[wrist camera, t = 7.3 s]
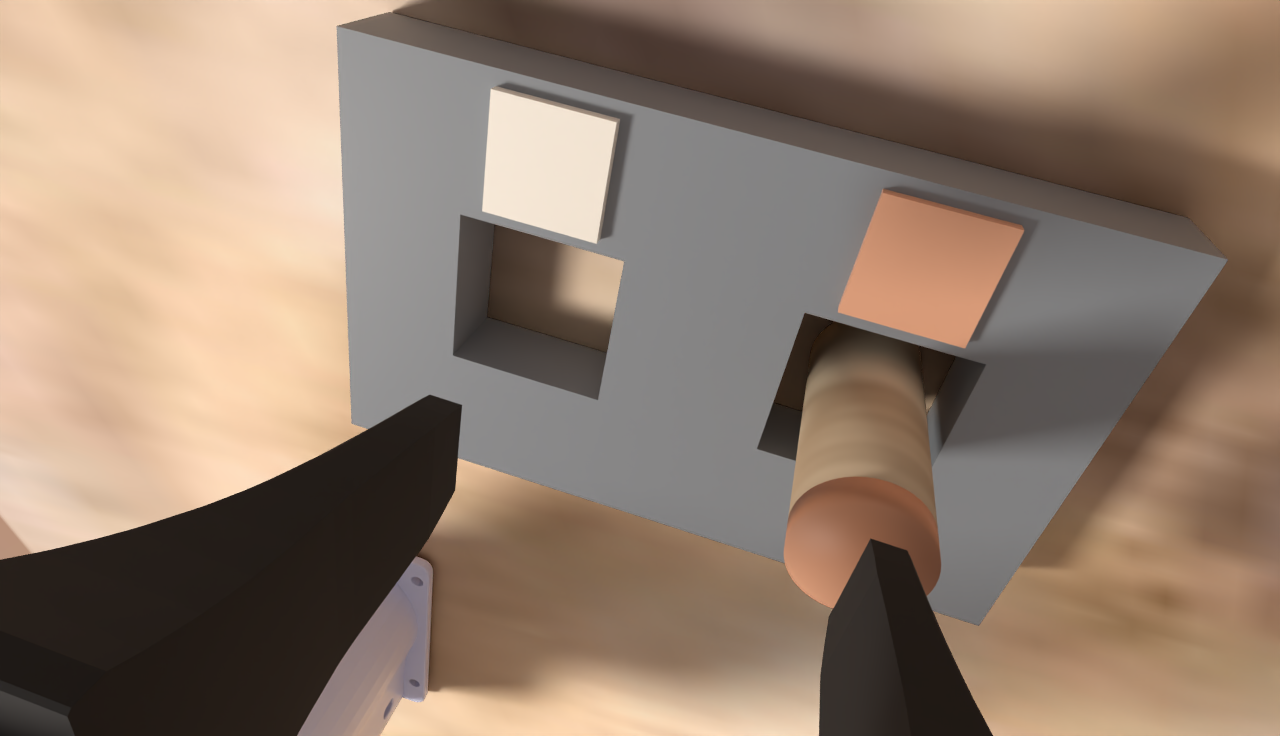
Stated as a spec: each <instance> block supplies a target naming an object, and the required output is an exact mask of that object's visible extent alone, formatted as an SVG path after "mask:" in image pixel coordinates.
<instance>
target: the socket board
mask: <svg viewBox="0 0 1280 736" xmlns="http://www.w3.org/2000/svg"><path fill="white" fill-rule="evenodd" d="M337 47H338V74H339V100H340V127H341V153H342V180H343V207H344V233H345V260H346V286H347V313H348V339H349V366H350V392H351V419H352V424H354V425H357V426H360V427H364V428H367V429H369V428H371V427H373V426H375V425H376V424H378V423H380V422H382V421H383V420H385V419H387V418H389V417H390V416H392V415H394V414H396V413H397V412H399V411H401V410H403V409H404V408H406V407H408V406H409V405H411V404H413V403H415V402H417V401H418V400H420V399H422V398H424V397H426V396H428V395H433V396H436V397H439V398H442V399H445V400H448V401H451V402H455V403H458V404H461V405H462V413H461V425H460V437H459V449H458V458H460V459H463V460H466V461H469V462H472V463H475V464H478V465H481V466H485V467H488V468H491V469H494V470H497V471H500V472H503V473H506V474H509V475H512V476H516V477H519V478H522V479H525V480H528V481H531V482H534V483H537V484H540V485H543V486H547V487H550V488H553V489H556V490H559V491H562V492H565V493H568V494H571V495H574V496H578V497H581V498H584V499H587V500H590V501H593V502H596V503H599V504H602V505H605V506H609V507H612V508H615V509H618V510H621V511H624V512H627V513H630V514H633V515H637V516H640V517H643V518H646V519H649V520H652V521H655V522H658V523H661V524H664V525H668V526H671V527H674V528H677V529H680V530H683V531H686V532H689V533H692V534H695V535H699V536H702V537H705V538H708V539H711V540H714V541H717V542H720V543H723V544H726V545H730V546H733V547H736V548H739V549H742V550H745V551H748V552H751V553H754V554H757V555H761V556H764V557H767V558H770V559H773V560H776V561H779V562H782V563H785V561H784V545H785V537H786V530H787V523H788V515H789V508H790V501H791V493H792V486H793V478H794V471H795V464H796V456H797V449H798V442H799V434H800V427H801V419H802V411H798V410H795V409H792V408H788V407H785V406H782V405H778V404H775V403H773V402H774V399H775V396H776V393H777V390H778V387H779V384H780V382H781V379H782V376H783V373H784V370H785V367H786V365H787V362H788V359H789V356H790V353H791V350H792V347H793V345H794V342H795V339H796V336H797V333H798V330H799V328H800V325H801V322H802V319H803V316H804V313H807V314H811V315H814V316H818V317H821V318H825V319H828V320H832V321H835V322H839V323H842V324H846V325H849V326H853V327H856V328H860V329H863V330H867V331H870V332H874V333H877V334H881V335H884V336H888V337H891V338H895V339H898V340H902V341H905V342H909V343H912V344H916V345H919V346H923V347H926V348H930V349H933V350H937V351H940V352H944V353H947V354H951V355H954V356H956V358H955V360H954V362H953V364H952V366H951V368H950V370H949V372H948V374H947V376H946V378H945V380H944V382H943V384H942V386H941V388H940V390H939V392H938V394H937V396H936V398H935V400H934V402H933V404H932V406H931V408H930V410H929V412H928V414H927V424H928V434H929V444H930V454H931V465H932V475H933V485H934V495H935V505H936V515H937V525H938V535H939V546H940V556H941V573H940V577H939V580H938V582H937V584H936V586H935V587H934V589H933V590H932V591H931V592H930V593H929V594H928V595H927V598H928V601H929V603H930V606H931V608H932V610H933V611H934V612H937V613H940V614H944V615H947V616H950V617H953V618H956V619H959V620H962V621H965V622H968V623H971V624H975V625H978V626H979V625H980V623H981V622H982V620H983V619H984V617H985V616H986V614H987V613H988V612H989V610H990V609H991V607H992V606H993V604H994V603H995V601H996V600H997V598H998V597H999V595H1000V594H1001V592H1002V591H1003V590H1004V588H1005V587H1006V585H1007V584H1008V582H1009V581H1010V579H1011V578H1012V576H1013V575H1014V573H1015V572H1016V570H1017V569H1018V568H1019V566H1020V565H1021V563H1022V562H1023V560H1024V559H1025V557H1026V556H1027V554H1028V553H1029V551H1030V550H1031V548H1032V547H1033V546H1034V544H1035V543H1036V541H1037V540H1038V538H1039V537H1040V535H1041V534H1042V532H1043V531H1044V529H1045V528H1046V526H1047V525H1048V524H1049V522H1050V521H1051V519H1052V518H1053V516H1054V515H1055V513H1056V512H1057V510H1058V509H1059V507H1060V506H1061V504H1062V503H1063V501H1064V500H1065V499H1066V497H1067V496H1068V494H1069V493H1070V491H1071V490H1072V488H1073V487H1074V485H1075V484H1076V482H1077V481H1078V479H1079V478H1080V477H1081V475H1082V474H1083V472H1084V471H1085V469H1086V468H1087V466H1088V465H1089V463H1090V462H1091V460H1092V459H1093V457H1094V456H1095V455H1096V453H1097V452H1098V450H1099V449H1100V447H1101V446H1102V444H1103V443H1104V441H1105V440H1106V438H1107V437H1108V435H1109V434H1110V433H1111V431H1112V430H1113V428H1114V427H1115V425H1116V424H1117V422H1118V421H1119V419H1120V418H1121V416H1122V415H1123V413H1124V412H1125V411H1126V409H1127V408H1128V406H1129V405H1130V403H1131V402H1132V400H1133V399H1134V397H1135V396H1136V394H1137V393H1138V391H1139V390H1140V389H1141V387H1142V386H1143V384H1144V383H1145V381H1146V380H1147V378H1148V377H1149V375H1150V374H1151V372H1152V371H1153V369H1154V368H1155V366H1156V365H1157V364H1158V362H1159V361H1160V359H1161V358H1162V356H1163V355H1164V353H1165V352H1166V350H1167V349H1168V347H1169V346H1170V344H1171V343H1172V342H1173V340H1174V339H1175V337H1176V336H1177V334H1178V333H1179V331H1180V330H1181V328H1182V327H1183V325H1184V324H1185V322H1186V321H1187V320H1188V318H1189V317H1190V315H1191V314H1192V312H1193V311H1194V309H1195V308H1196V306H1197V305H1198V303H1199V302H1200V300H1201V299H1202V298H1203V296H1204V295H1205V293H1206V292H1207V290H1208V289H1209V287H1210V286H1211V284H1212V283H1213V281H1214V280H1215V278H1216V277H1217V276H1218V274H1219V273H1220V271H1221V270H1222V268H1223V267H1224V265H1225V264H1226V262H1227V261H1228V259H1227V258H1226V257H1225V256H1224V255H1223V254H1222V253H1221V251H1220V250H1219V249H1218V248H1217V247H1216V246H1215V245H1214V244H1213V243H1212V242H1211V241H1210V240H1209V239H1208V238H1207V237H1206V236H1205V235H1204V233H1203V232H1202V231H1201V230H1200V229H1199V228H1198V227H1197V226H1196V225H1195V224H1194V223H1193V222H1192V221H1191V220H1190V219H1189V218H1187V217H1183V216H1179V215H1175V214H1171V213H1167V212H1164V211H1160V210H1156V209H1152V208H1148V207H1144V206H1140V205H1136V204H1133V203H1129V202H1125V201H1121V200H1117V199H1113V198H1109V197H1105V196H1102V195H1098V194H1094V193H1090V192H1086V191H1082V190H1078V189H1074V188H1071V187H1067V186H1063V185H1059V184H1055V183H1051V182H1047V181H1043V180H1039V179H1036V178H1032V177H1028V176H1024V175H1020V174H1016V173H1012V172H1008V171H1005V170H1001V169H997V168H993V167H989V166H985V165H981V164H977V163H974V162H970V161H966V160H962V159H958V158H954V157H950V156H946V155H942V154H939V153H935V152H931V151H927V150H923V149H919V148H915V147H911V146H908V145H904V144H900V143H896V142H892V141H888V140H884V139H880V138H877V137H873V136H869V135H865V134H861V133H857V132H853V131H849V130H846V129H842V128H838V127H834V126H830V125H826V124H822V123H818V122H814V121H811V120H807V119H803V118H799V117H795V116H791V115H787V114H783V113H780V112H776V111H772V110H768V109H764V108H760V107H756V106H752V105H749V104H745V103H741V102H737V101H733V100H729V99H725V98H721V97H717V96H714V95H710V94H706V93H702V92H698V91H694V90H690V89H686V88H683V87H679V86H675V85H671V84H667V83H663V82H659V81H655V80H652V79H648V78H644V77H640V76H636V75H632V74H628V73H624V72H621V71H617V70H613V69H609V68H605V67H601V66H597V65H593V64H589V63H586V62H582V61H578V60H574V59H570V58H566V57H562V56H558V55H555V54H551V53H547V52H543V51H539V50H535V49H531V48H527V47H524V46H520V45H516V44H512V43H508V42H504V41H500V40H496V39H492V38H489V37H485V36H481V35H477V34H473V33H469V32H465V31H461V30H458V29H454V28H450V27H446V26H442V25H438V24H434V23H430V22H427V21H423V20H419V19H415V18H411V17H407V16H403V15H399V14H396V13H392V12H388V13H384V14H380V15H377V16H373V17H369V18H365V19H362V20H358V21H354V22H350V23H347V24H343V25H339V26H337ZM495 224H496V225H499V226H503V227H506V228H510V229H513V230H517V231H520V232H524V233H527V234H531V235H534V236H538V237H541V238H545V239H548V240H552V241H555V242H559V243H562V244H566V245H569V246H573V247H576V248H580V249H583V250H587V251H590V252H594V253H597V254H601V255H604V256H608V257H611V258H615V259H618V260H622V261H624V266H623V271H622V276H621V282H620V287H619V292H618V297H617V303H616V308H615V313H614V319H613V324H612V329H611V334H610V340H609V345H608V350H607V353H605V352H602V351H598V350H595V349H592V348H588V347H585V346H582V345H578V344H575V343H572V342H568V341H565V340H562V339H558V338H555V337H552V336H548V335H545V334H542V333H538V332H535V331H532V330H528V329H525V328H522V327H518V326H515V325H512V324H508V323H505V322H502V321H498V320H495V319H492V318H488V317H487V312H488V300H489V288H490V276H491V263H492V251H493V239H494V227H495Z"/></svg>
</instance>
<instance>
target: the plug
mask: <svg viewBox="0 0 1280 736" xmlns="http://www.w3.org/2000/svg"><path fill="white" fill-rule="evenodd" d="M870 538H871V539H874V540H877V541H880V542H883V543H886V544H889V545H892V546H895V547H898V548H902V549H905V550H907V551H908V553H909V555H910V557H911V559H912V561H913V564H914V566H915V569H916V571H917V574H918V576H919V579H920V581H921V584H922V586H923V589H924V591H925V594H926V596H927V595H928V594H929V593H930V592H931V591H932V590H933V589H934V587H935V586H936V584H937V582H938V580H939V577H940V573H941V556H940V546H939V535H938V525H937V515H936V505H935V495H934V485H933V475H932V465H931V454H930V444H929V434H928V424H927V414H926V404H925V394H924V384H923V374H922V363H921V354H920V350H919V347H918V345H916V344H912V343H909V342H905V341H902V340H898V339H895V338H891V337H888V336H884V335H881V334H877V333H874V332H870V331H867V330H863V329H860V328H856V327H853V326H849V325H846V324H842V323H839V322H834V323H832V324H831V325H829V326H828V327H827V328H825V329H824V330H823V331H822V332H821V333H820V335H819V336H818V337H817V339H816V340H815V342H814V344H813V346H812V349H811V353H810V360H809V368H808V375H807V382H806V390H805V397H804V405H803V412H802V419H801V427H800V434H799V442H798V449H797V456H796V464H795V471H794V478H793V486H792V493H791V501H790V508H789V515H788V523H787V530H786V537H785V545H784V561H785V565H786V568H787V571H788V573H789V575H790V576H791V578H792V580H793V581H794V582H795V584H796V585H797V586H798V587H799V588H800V589H801V590H802V591H803V592H804V593H806V594H807V595H808V596H809V597H811V598H812V599H814V600H816V601H817V602H819V603H821V604H823V605H825V606H827V607H830V608H834V606H835V605H836V603H837V601H838V599H839V597H840V595H841V593H842V591H843V589H844V588H845V586H846V584H847V582H848V580H849V578H850V576H851V574H852V572H853V571H854V569H855V567H856V565H857V563H858V561H859V559H860V557H861V555H862V554H863V552H864V550H865V548H866V546H867V544H868V542H869V540H870Z"/></svg>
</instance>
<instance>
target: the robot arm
mask: <svg viewBox="0 0 1280 736" xmlns="http://www.w3.org/2000/svg"><path fill="white" fill-rule="evenodd" d="M461 413H462V405H461V404H458V403H455V402H451V401H448V400H445V399H442V398H439V397H436V396H433V395H428V396H426V397H424V398H422V399H420V400H418V401H417V402H415V403H413V404H411V405H409V406H408V407H406V408H404V409H403V410H401V411H399V412H397V413H396V414H394V415H392V416H390V417H389V418H387V419H385V420H383V421H382V422H380V423H378V424H376V425H375V426H373V427H371V428H369V429H368V430H366V431H364V432H362V433H361V434H359V435H357V436H355V437H353V438H351V439H349V440H348V441H346V442H344V443H342V444H340V445H338V446H336V447H335V448H333V449H331V450H329V451H327V452H325V453H323V454H321V455H320V456H318V457H316V458H314V459H312V460H309V461H307V462H305V463H303V464H301V465H299V466H297V467H295V468H293V469H291V470H289V471H287V472H285V473H283V474H281V475H279V476H276V477H274V478H272V479H270V480H268V481H265V482H263V483H261V484H259V485H256V486H254V487H252V488H249V489H247V490H245V491H242V492H239V493H237V494H234V495H232V496H229V497H227V498H224V499H221V500H219V501H216V502H214V503H211V504H208V505H205V506H203V507H200V508H197V509H194V510H191V511H188V512H185V513H181V514H178V515H175V516H172V517H169V518H166V519H163V520H160V521H157V522H154V523H151V524H147V525H144V526H141V527H138V528H134V529H131V530H127V531H124V532H120V533H116V534H113V535H109V536H105V537H102V538H98V539H94V540H90V541H86V542H82V543H77V544H73V545H69V546H65V547H61V548H56V549H52V550H47V551H43V552H38V553H33V554H28V555H23V556H18V557H13V558H7V559H3V560H0V736H380V735H381V733H382V731H383V729H384V728H385V726H386V724H387V722H388V721H389V719H390V717H391V716H392V714H393V712H394V710H395V709H396V707H397V705H398V704H399V702H400V700H401V698H402V697H403V698H406V699H409V700H412V701H415V702H422V701H424V699H425V697H426V695H427V693H428V673H429V651H430V629H431V607H432V585H433V568H432V566H431V564H430V563H429V562H428V561H427V560H425V559H422V558H420V557H417V554H418V553H419V551H420V550H421V549H422V547H423V546H424V544H425V543H426V541H427V540H428V539H429V537H430V535H431V533H432V532H433V530H434V528H435V526H436V524H437V523H438V521H439V519H440V517H441V516H442V514H443V512H444V510H445V508H446V506H447V504H448V502H449V501H450V499H451V497H452V495H453V493H454V491H455V484H456V472H457V460H458V449H459V437H460V425H461ZM819 736H993V735H992V733H991V731H990V729H989V727H988V725H987V724H986V722H985V720H984V718H983V716H982V714H981V712H980V710H979V709H978V707H977V705H976V703H975V701H974V699H973V697H972V695H971V693H970V691H969V689H968V687H967V685H966V683H965V681H964V679H963V677H962V675H961V673H960V670H959V668H958V666H957V664H956V662H955V660H954V658H953V655H952V653H951V651H950V649H949V647H948V645H947V643H946V640H945V638H944V636H943V634H942V631H941V629H940V627H939V625H938V622H937V620H936V617H935V615H934V613H933V610H932V608H931V606H930V603H929V601H928V598H927V596H926V594H925V591H924V589H923V586H922V584H921V581H920V579H919V576H918V574H917V571H916V569H915V566H914V564H913V561H912V559H911V557H910V555H909V553H908V551H907V550H905V549H902V548H898V547H895V546H892V545H889V544H886V543H883V542H880V541H877V540H874V539H871V538H870V540H869V542H868V544H867V546H866V548H865V550H864V552H863V554H862V555H861V557H860V559H859V561H858V563H857V565H856V567H855V569H854V571H853V572H852V574H851V576H850V578H849V580H848V582H847V584H846V586H845V588H844V589H843V591H842V593H841V595H840V597H839V599H838V601H837V603H836V605H835V606H834V608H833V610H832V612H831V614H830V616H829V619H828V626H827V633H826V639H825V646H824V653H823V660H822V668H821V678H820V720H819Z"/></svg>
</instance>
